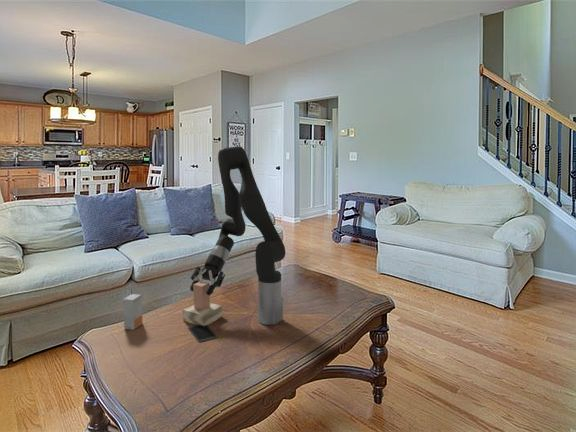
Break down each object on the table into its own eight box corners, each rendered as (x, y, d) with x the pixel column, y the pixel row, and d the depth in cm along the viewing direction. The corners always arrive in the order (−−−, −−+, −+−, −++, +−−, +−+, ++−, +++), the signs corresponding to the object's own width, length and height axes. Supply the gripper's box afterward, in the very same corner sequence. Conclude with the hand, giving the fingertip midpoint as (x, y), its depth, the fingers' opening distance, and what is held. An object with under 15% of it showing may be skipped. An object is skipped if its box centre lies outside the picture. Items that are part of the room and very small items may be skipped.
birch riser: (222, 317, 157) (221, 305, 156) (204, 327, 147) (204, 315, 146) (201, 311, 162) (201, 300, 161) (183, 321, 152) (182, 309, 152)
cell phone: (199, 344, 135) (199, 342, 134) (187, 328, 146) (187, 326, 146) (218, 339, 138) (218, 337, 138) (205, 324, 150) (205, 322, 150)
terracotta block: (210, 306, 155) (209, 283, 154) (202, 310, 151) (201, 286, 150) (201, 304, 157) (200, 281, 156) (194, 308, 153) (193, 284, 152)
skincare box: (134, 330, 144) (132, 300, 142) (124, 329, 144) (122, 299, 143) (143, 323, 149) (141, 294, 148) (133, 322, 150) (131, 293, 148)
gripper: (200, 251, 161) (181, 285, 153) (226, 256, 154) (209, 291, 146) (208, 260, 166) (191, 293, 158) (234, 265, 160) (218, 300, 152)
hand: (199, 292), depth 152 cm, fingers open, 8 cm apart
